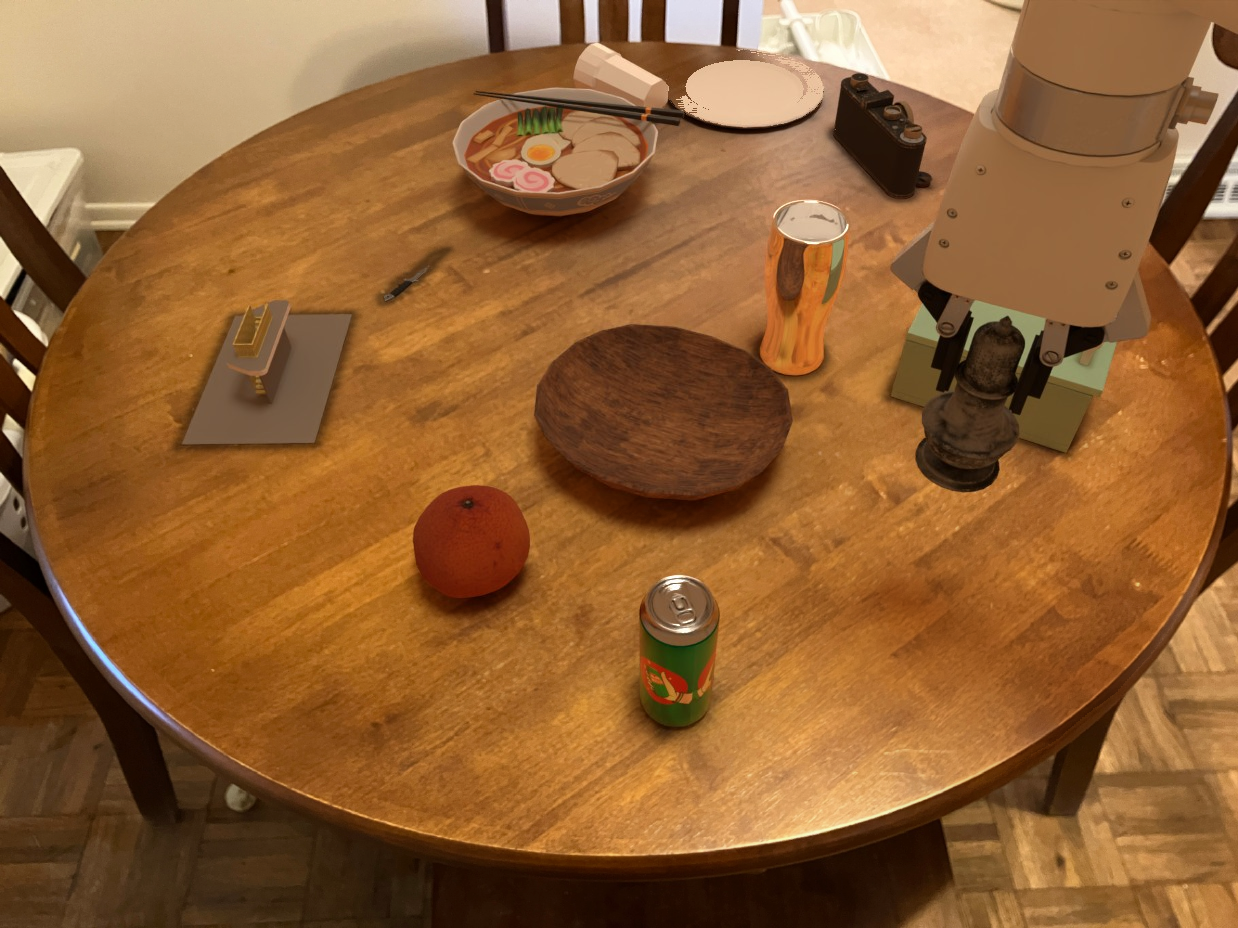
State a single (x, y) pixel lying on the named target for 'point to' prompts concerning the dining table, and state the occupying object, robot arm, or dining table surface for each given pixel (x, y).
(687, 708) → the soda can
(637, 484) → the bowl
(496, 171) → the ramen bowl
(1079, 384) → the lunchbox lid
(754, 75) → the plate
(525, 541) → the fruit
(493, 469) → the dining table surface
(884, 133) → the camera
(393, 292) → the knife
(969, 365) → the chess piece
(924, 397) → the box
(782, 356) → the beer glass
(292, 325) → the platform
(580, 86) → the cup
